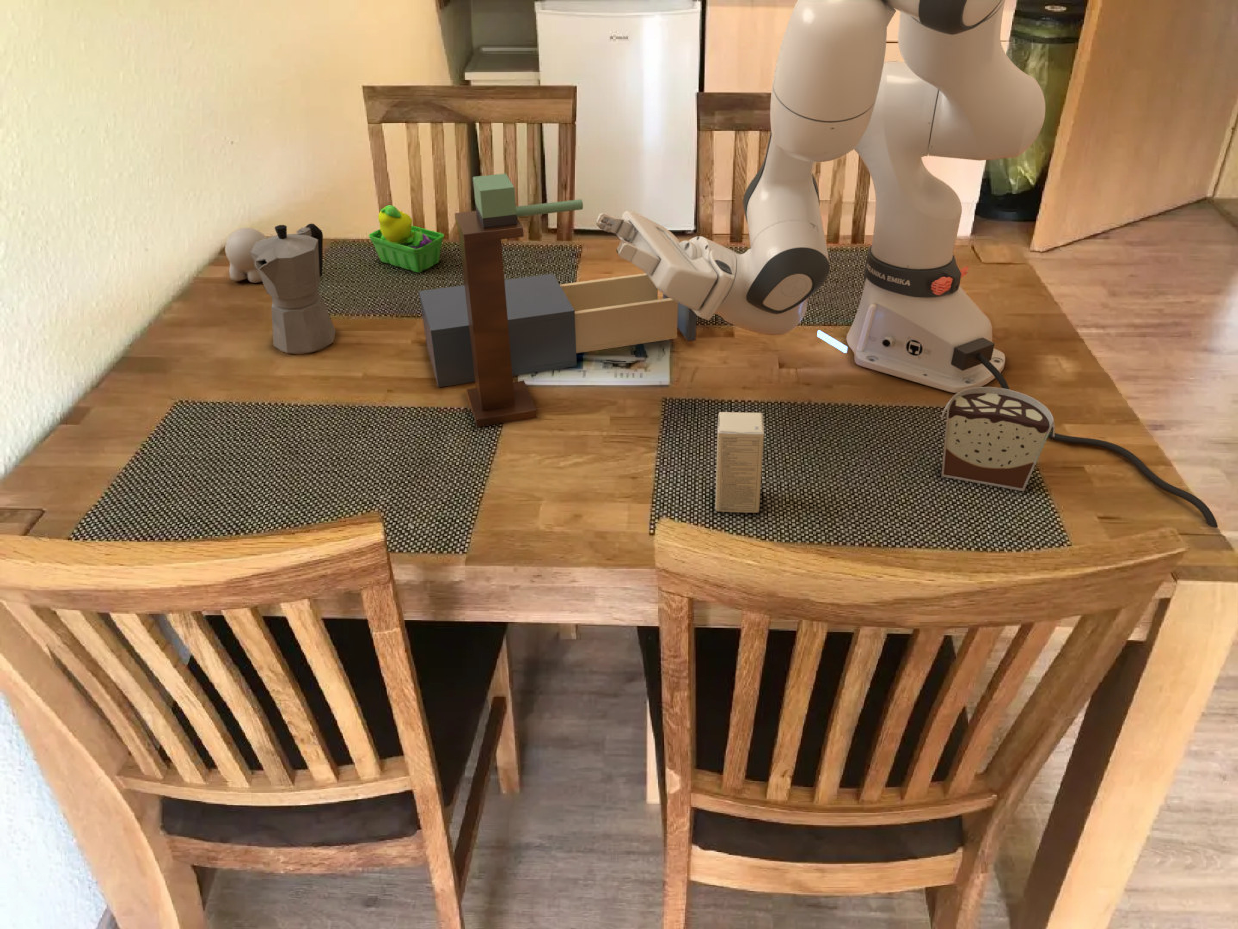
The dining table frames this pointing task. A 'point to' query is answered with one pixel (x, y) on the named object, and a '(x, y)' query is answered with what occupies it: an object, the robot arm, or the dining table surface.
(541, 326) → the cabinet
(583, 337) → the drawer
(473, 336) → the pedestal
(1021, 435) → the food container
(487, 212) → the brush
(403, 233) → the fruit basket
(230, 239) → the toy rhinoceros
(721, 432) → the box
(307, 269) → the coffeepot
